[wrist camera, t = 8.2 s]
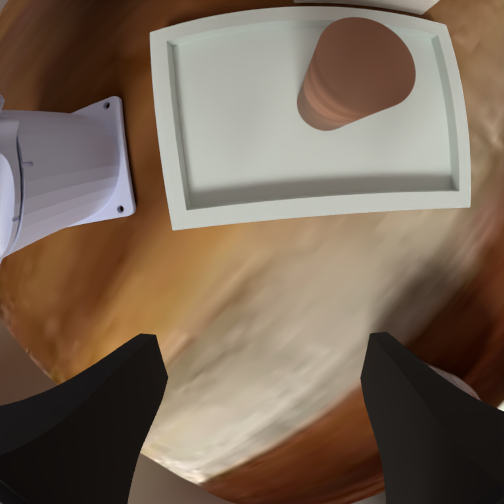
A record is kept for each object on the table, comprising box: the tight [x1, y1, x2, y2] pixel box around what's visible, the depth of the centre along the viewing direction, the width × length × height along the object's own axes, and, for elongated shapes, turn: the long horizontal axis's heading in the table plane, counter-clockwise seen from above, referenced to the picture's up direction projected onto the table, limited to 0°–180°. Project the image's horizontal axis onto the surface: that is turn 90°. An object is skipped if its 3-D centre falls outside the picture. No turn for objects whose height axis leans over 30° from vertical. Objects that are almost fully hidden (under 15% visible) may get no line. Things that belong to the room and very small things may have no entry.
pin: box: [297, 17, 416, 131], centre depth 10 cm, size 3×3×8 cm
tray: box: [150, 6, 471, 230], centre depth 14 cm, size 18×12×2 cm, turn 97°
